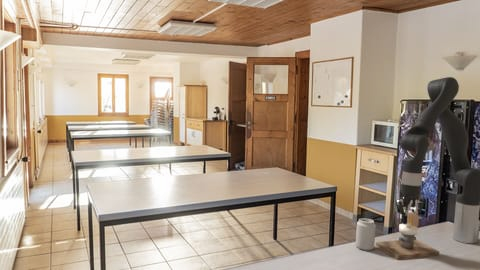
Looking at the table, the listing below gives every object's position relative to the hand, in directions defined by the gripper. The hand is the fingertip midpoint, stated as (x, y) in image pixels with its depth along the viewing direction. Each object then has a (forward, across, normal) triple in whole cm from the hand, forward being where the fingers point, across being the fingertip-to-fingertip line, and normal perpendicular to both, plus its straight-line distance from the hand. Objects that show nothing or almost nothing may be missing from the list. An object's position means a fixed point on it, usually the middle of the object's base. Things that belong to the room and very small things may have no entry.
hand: (408, 223), depth 157 cm
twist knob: (+4, 0, 0) cm, 4 cm away
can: (+12, +15, -8) cm, 21 cm away
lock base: (+12, 0, 0) cm, 12 cm away
